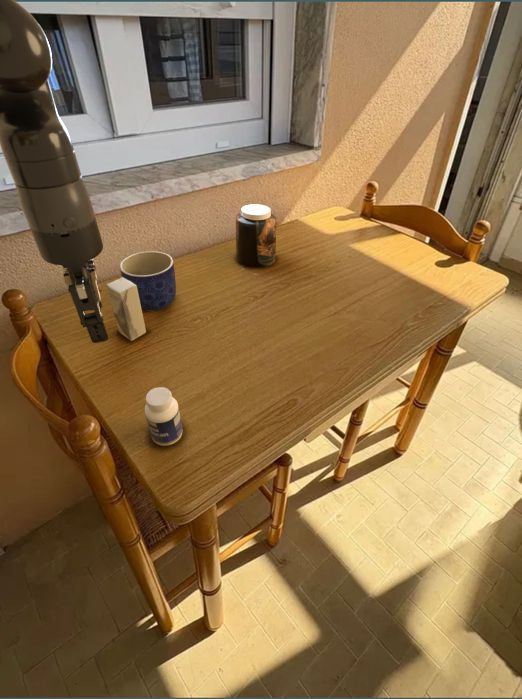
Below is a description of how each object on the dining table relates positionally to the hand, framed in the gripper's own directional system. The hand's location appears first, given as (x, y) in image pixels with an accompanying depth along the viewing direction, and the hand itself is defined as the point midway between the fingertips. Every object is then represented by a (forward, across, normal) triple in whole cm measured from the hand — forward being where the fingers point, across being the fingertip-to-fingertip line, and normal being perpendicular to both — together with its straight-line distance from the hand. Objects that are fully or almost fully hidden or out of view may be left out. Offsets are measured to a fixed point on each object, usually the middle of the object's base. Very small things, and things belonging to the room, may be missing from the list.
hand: (97, 323), depth 57 cm
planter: (+20, -34, +12) cm, 41 cm away
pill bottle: (+20, +8, +6) cm, 22 cm away
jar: (+20, -46, +45) cm, 67 cm away
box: (+20, -23, +5) cm, 31 cm away
